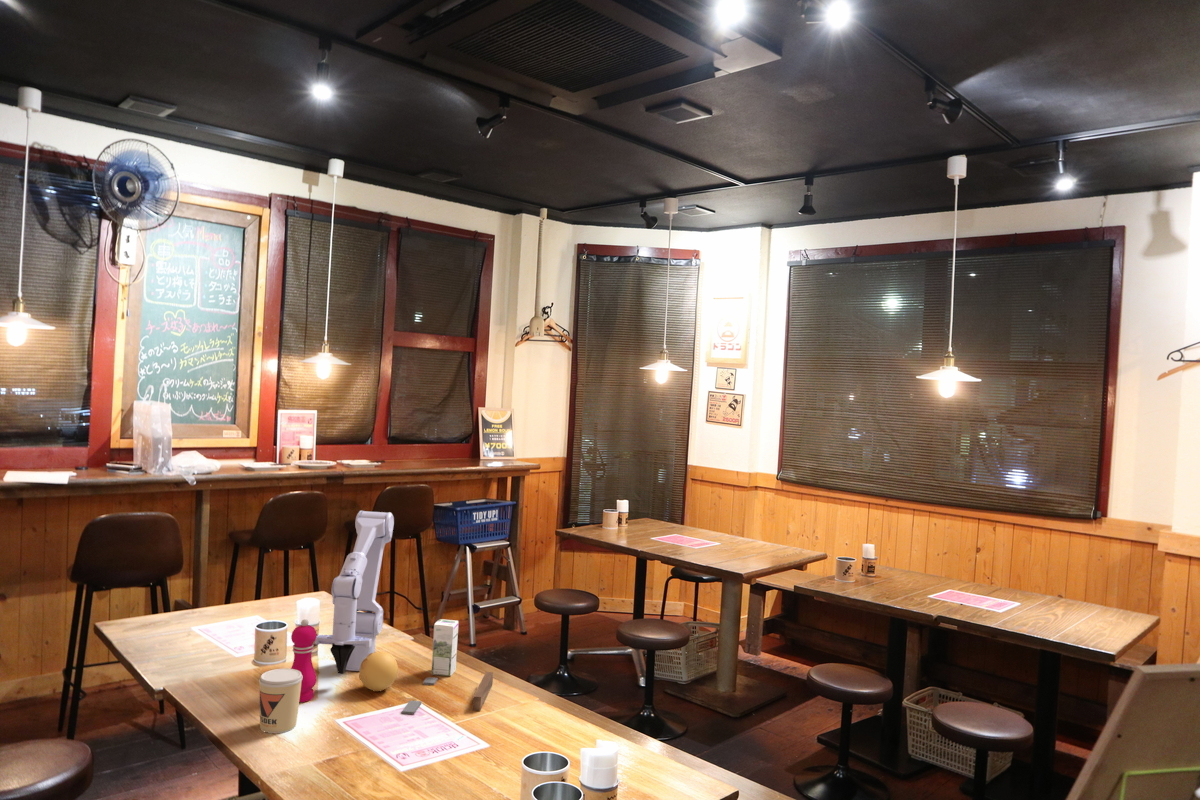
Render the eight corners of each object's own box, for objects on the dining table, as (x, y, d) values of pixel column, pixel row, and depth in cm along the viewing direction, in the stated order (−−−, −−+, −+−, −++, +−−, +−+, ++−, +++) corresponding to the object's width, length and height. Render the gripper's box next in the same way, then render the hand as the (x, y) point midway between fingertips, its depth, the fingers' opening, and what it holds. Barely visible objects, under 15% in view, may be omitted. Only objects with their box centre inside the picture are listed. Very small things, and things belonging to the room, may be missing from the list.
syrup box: (456, 670, 224) (459, 619, 224) (450, 677, 218) (453, 625, 219) (437, 668, 225) (439, 618, 225) (430, 675, 219) (433, 623, 219)
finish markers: (401, 713, 192) (402, 711, 192) (426, 679, 216) (426, 677, 216) (413, 714, 192) (414, 712, 192) (437, 679, 216) (437, 677, 216)
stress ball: (400, 693, 207) (398, 659, 214) (397, 674, 201) (394, 640, 208) (361, 701, 205) (360, 667, 212) (357, 682, 198) (356, 647, 205)
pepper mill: (305, 705, 193) (309, 624, 194) (278, 701, 195) (283, 621, 195) (321, 695, 201) (325, 617, 201) (295, 691, 202) (300, 614, 202)
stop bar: (472, 710, 196) (473, 696, 196) (485, 684, 214) (485, 671, 214) (480, 710, 196) (481, 697, 196) (492, 685, 214) (493, 672, 214)
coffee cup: (247, 728, 179) (250, 676, 179) (281, 715, 187) (283, 665, 187) (275, 738, 174) (278, 685, 174) (308, 724, 183) (311, 673, 183)
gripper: (311, 623, 203) (308, 675, 203) (366, 627, 202) (363, 679, 202) (322, 616, 210) (319, 666, 210) (375, 619, 209) (372, 670, 209)
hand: (341, 672), depth 206 cm, fingers closed
